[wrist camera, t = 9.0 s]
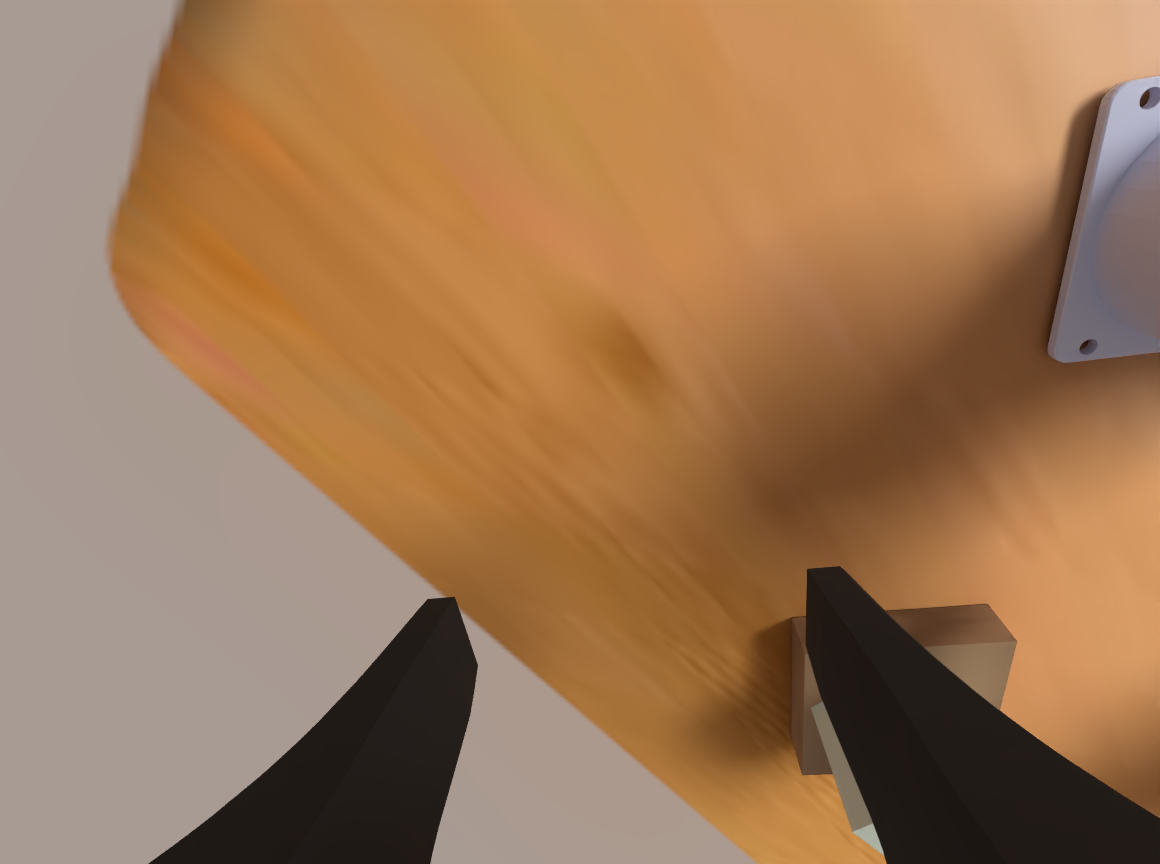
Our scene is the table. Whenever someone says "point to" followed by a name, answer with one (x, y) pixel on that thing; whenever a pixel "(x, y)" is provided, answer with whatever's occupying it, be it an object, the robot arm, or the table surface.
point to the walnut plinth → (950, 634)
